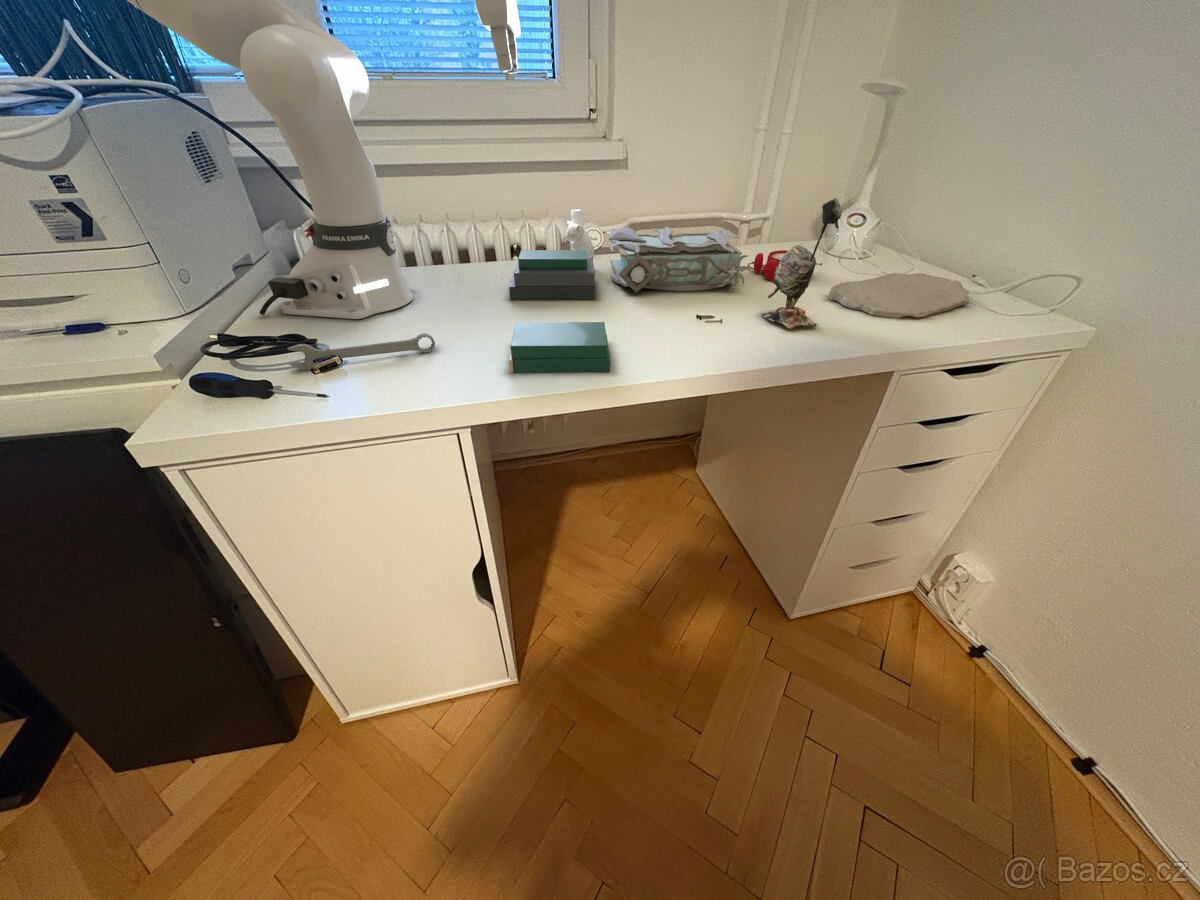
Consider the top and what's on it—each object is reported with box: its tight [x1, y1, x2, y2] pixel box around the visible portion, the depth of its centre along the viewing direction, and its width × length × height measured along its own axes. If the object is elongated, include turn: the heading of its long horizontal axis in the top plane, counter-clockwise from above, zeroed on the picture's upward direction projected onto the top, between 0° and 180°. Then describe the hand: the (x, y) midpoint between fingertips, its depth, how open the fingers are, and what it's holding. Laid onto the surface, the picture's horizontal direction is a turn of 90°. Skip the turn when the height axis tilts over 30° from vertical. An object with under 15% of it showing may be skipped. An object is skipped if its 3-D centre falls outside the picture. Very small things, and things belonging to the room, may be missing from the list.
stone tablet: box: [828, 272, 970, 319], centre depth 95 cm, size 16×30×2 cm, turn 115°
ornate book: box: [605, 225, 752, 294], centre depth 103 cm, size 23×10×30 cm
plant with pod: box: [761, 197, 843, 329], centre depth 81 cm, size 8×11×20 cm
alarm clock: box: [747, 249, 823, 282], centre depth 107 cm, size 10×6×15 cm
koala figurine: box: [564, 208, 595, 259], centre depth 106 cm, size 8×7×12 cm
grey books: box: [508, 257, 596, 301], centre depth 96 cm, size 16×11×5 cm
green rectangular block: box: [508, 321, 611, 374], centre depth 72 cm, size 14×9×4 cm, turn 93°
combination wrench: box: [287, 332, 436, 371], centre depth 71 cm, size 4×1×20 cm
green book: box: [517, 249, 587, 270], centre depth 94 cm, size 13×6×2 cm, turn 93°
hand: (509, 72), depth 73 cm, fingers open, 8 cm apart
